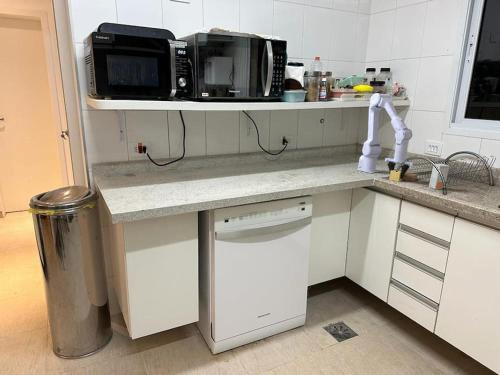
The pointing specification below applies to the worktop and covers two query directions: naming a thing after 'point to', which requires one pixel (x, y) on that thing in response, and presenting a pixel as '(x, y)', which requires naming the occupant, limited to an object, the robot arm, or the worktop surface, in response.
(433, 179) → the skincare box
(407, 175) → the trivet
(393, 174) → the block
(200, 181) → the worktop surface
